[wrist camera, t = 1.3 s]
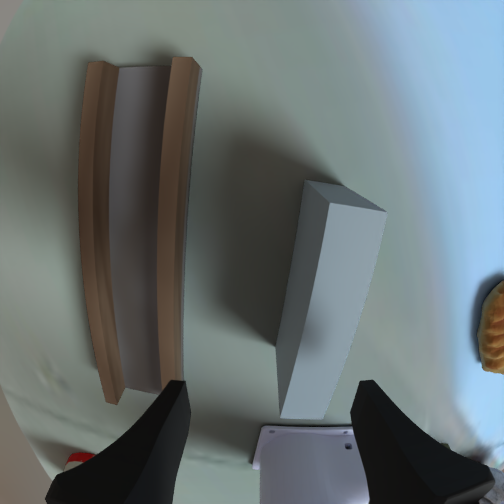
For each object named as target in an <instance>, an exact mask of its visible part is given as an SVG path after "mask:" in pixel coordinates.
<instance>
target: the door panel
mask: <svg viewBox="0 0 504 504" xmlns="http://www.w3.org/2000/svg"><path fill="white" fill-rule="evenodd" d="M387 214H388V212H386V211H385V210H383V209H382V208H380V207H378V206H377V205H375V204H374V203H372V202H370V201H369V200H367V199H365V198H364V197H362V196H361V195H359V194H357V193H356V192H354V191H352V190H350V189H349V188H347V187H345V186H341V185H335V184H329V183H323V182H316V181H310V180H305V182H304V188H303V195H302V201H301V208H300V214H299V220H298V226H297V232H296V238H295V244H294V250H293V256H292V262H291V267H290V273H289V279H288V284H287V290H286V295H285V300H284V306H283V311H282V316H281V322H280V327H279V332H278V337H277V342H276V347H275V348H276V362H277V378H278V393H279V409H280V418H287V419H323V417H324V415H325V413H326V410H327V408H328V406H329V403H330V401H331V398H332V396H333V393H334V391H335V388H336V385H337V383H338V380H339V378H340V375H341V372H342V370H343V367H344V364H345V361H346V359H347V356H348V353H349V350H350V347H351V344H352V341H353V338H354V335H355V332H356V329H357V326H358V323H359V320H360V317H361V314H362V310H363V307H364V304H365V300H366V297H367V294H368V290H369V287H370V283H371V279H372V276H373V272H374V268H375V265H376V261H377V257H378V253H379V249H380V245H381V241H382V236H383V232H384V228H385V223H386V219H387Z"/></svg>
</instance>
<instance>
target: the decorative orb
mask: <svg viewBox="0 0 504 504" xmlns="http://www.w3.org/2000/svg"><path fill="white" fill-rule="evenodd" d="M489 468H490V467H489ZM490 470H491V472H492V474H493V477H494V479H495V482H496V483H495V485H494V486H493V488H492V489H491V490H490V491H489V492H488V493H487V494H486V495H485V496H484V497H483V498H482V499H480V500H479V503H480V504H499V503H501V502H503V501H504V473H503V472H502V471H500V470H498V469H495V468H490Z"/></svg>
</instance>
